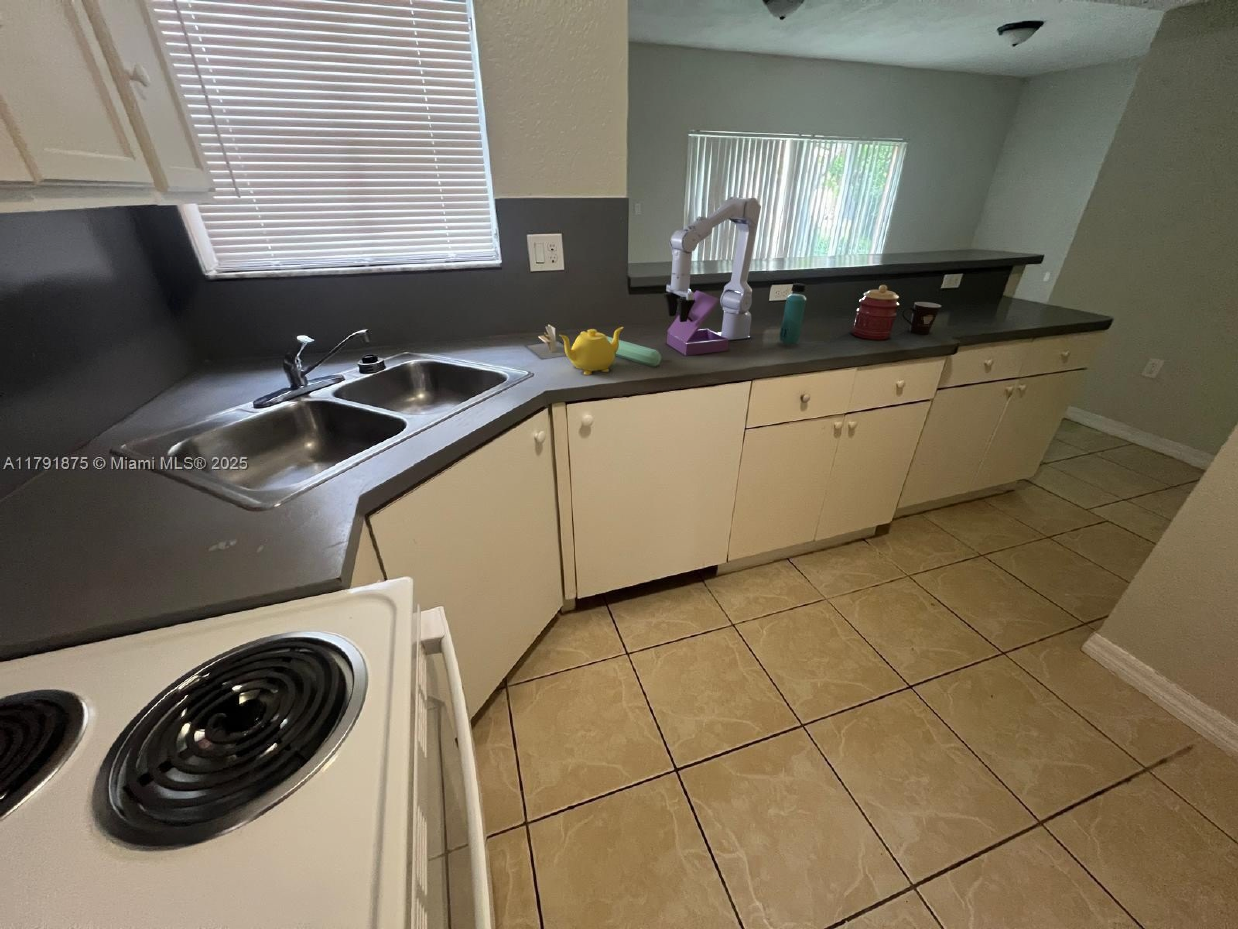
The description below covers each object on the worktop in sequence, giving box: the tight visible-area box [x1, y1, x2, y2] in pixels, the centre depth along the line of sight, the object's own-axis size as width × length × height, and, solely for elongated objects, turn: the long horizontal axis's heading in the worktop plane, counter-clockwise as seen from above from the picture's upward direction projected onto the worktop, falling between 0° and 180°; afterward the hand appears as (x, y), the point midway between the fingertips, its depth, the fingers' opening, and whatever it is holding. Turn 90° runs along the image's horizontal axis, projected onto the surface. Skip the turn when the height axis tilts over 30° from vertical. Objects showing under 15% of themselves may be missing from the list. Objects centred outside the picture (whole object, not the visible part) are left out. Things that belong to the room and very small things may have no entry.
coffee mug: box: [901, 301, 942, 335], centre depth 182 cm, size 12×9×10 cm
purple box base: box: [666, 328, 730, 356], centre depth 162 cm, size 16×14×4 cm
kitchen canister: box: [851, 284, 901, 341], centre depth 174 cm, size 13×13×18 cm
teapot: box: [558, 326, 624, 376], centre depth 141 cm, size 20×15×12 cm
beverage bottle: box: [779, 283, 807, 344], centre depth 161 cm, size 6×7×20 cm
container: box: [605, 335, 662, 368], centre depth 151 cm, size 6×6×25 cm
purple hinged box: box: [667, 290, 720, 343], centre depth 155 cm, size 16×14×5 cm
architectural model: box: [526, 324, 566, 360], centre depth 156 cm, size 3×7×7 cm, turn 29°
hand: (677, 318), depth 155 cm, fingers open, 7 cm apart
